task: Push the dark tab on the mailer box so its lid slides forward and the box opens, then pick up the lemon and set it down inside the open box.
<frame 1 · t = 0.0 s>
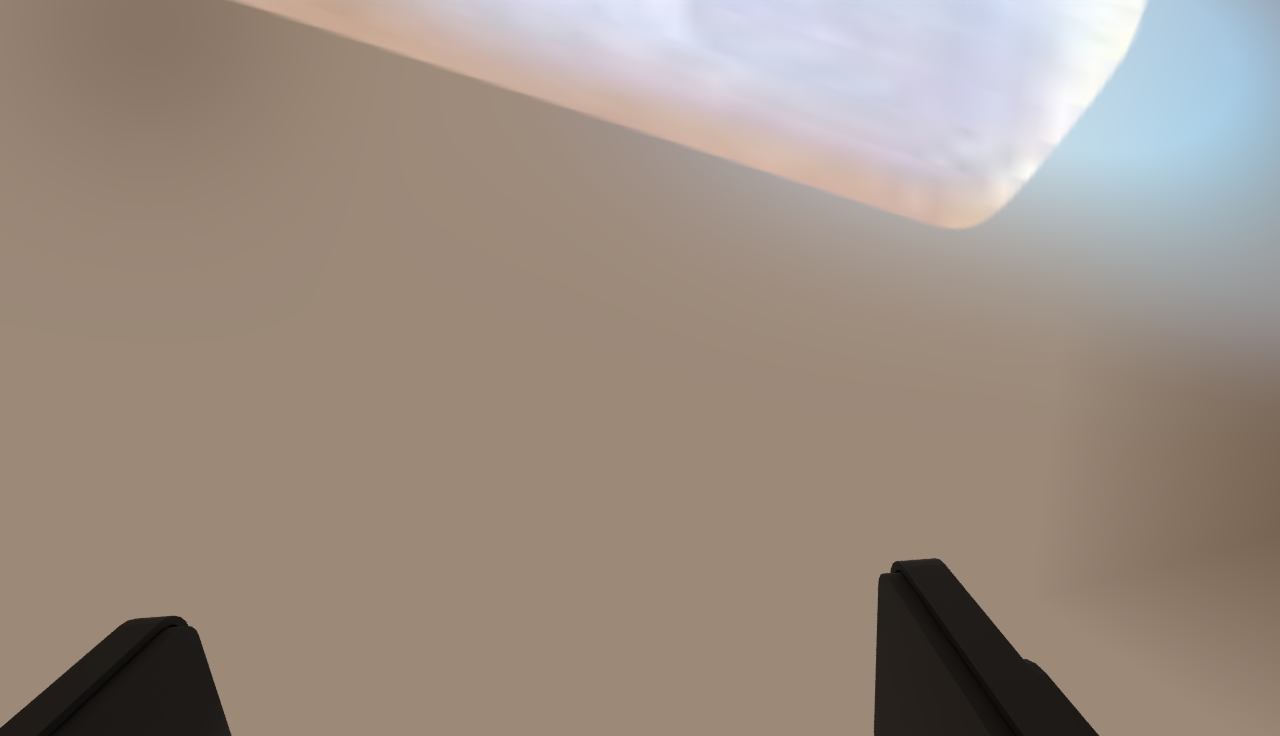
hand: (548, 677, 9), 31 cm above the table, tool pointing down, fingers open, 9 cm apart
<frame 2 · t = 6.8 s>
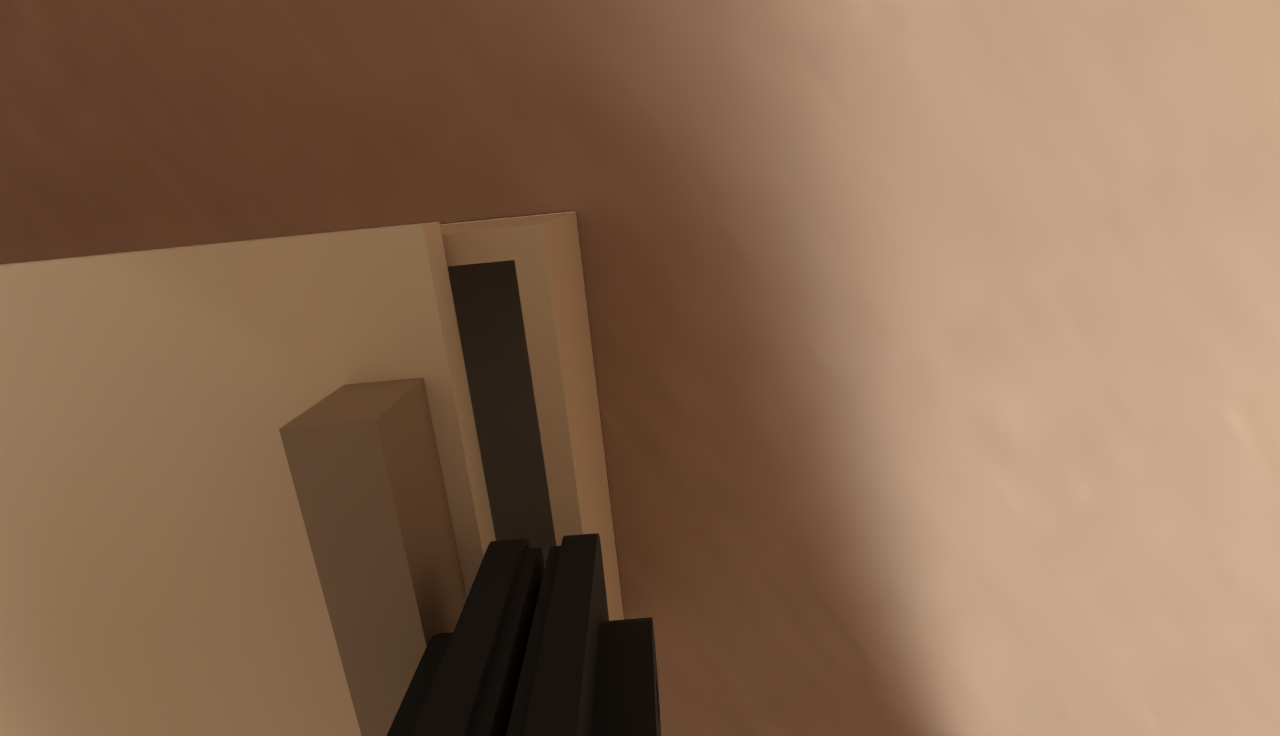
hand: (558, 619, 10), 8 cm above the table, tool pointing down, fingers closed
mailer box: (313, 463, 17), on the table
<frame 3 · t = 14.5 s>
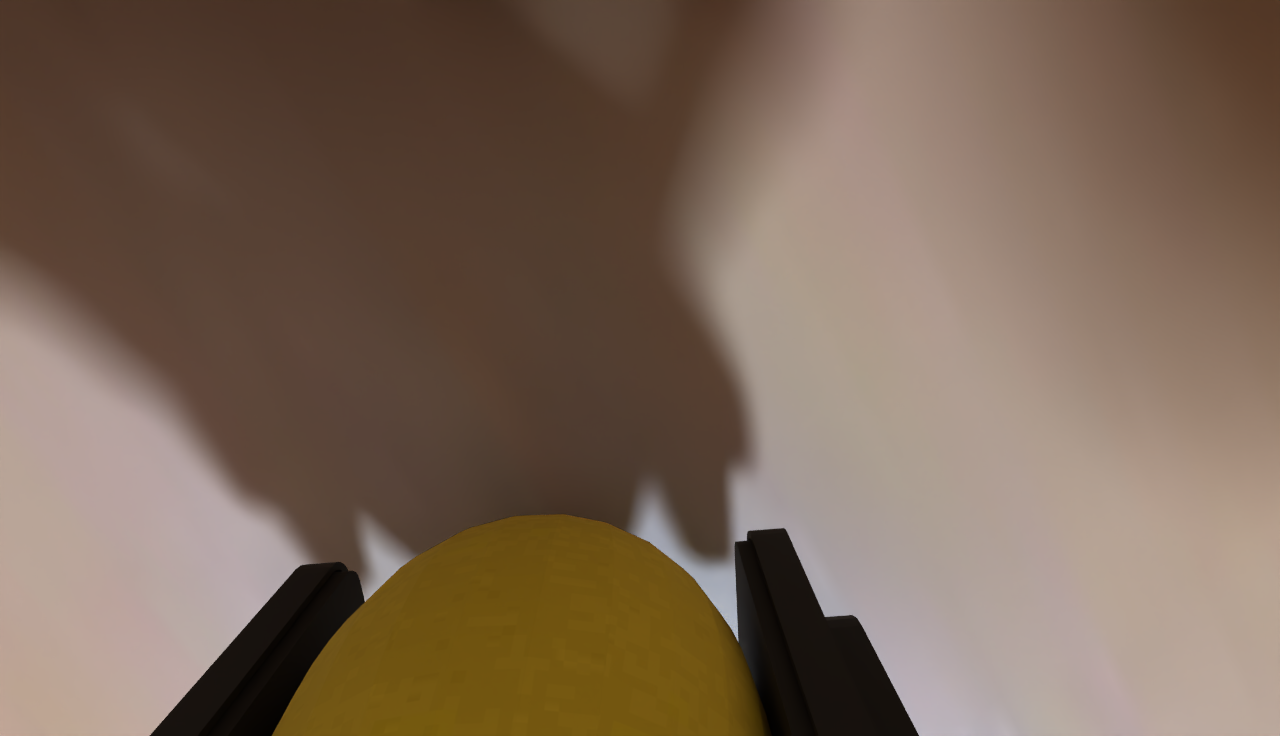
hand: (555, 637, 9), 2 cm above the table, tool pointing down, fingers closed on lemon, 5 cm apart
lemon: (568, 569, 11), on the table, touching gripper
when the fingers open (5 cm above the table, at t = 20.6 s): lemon drops 2 cm, point 1 cm above the table.
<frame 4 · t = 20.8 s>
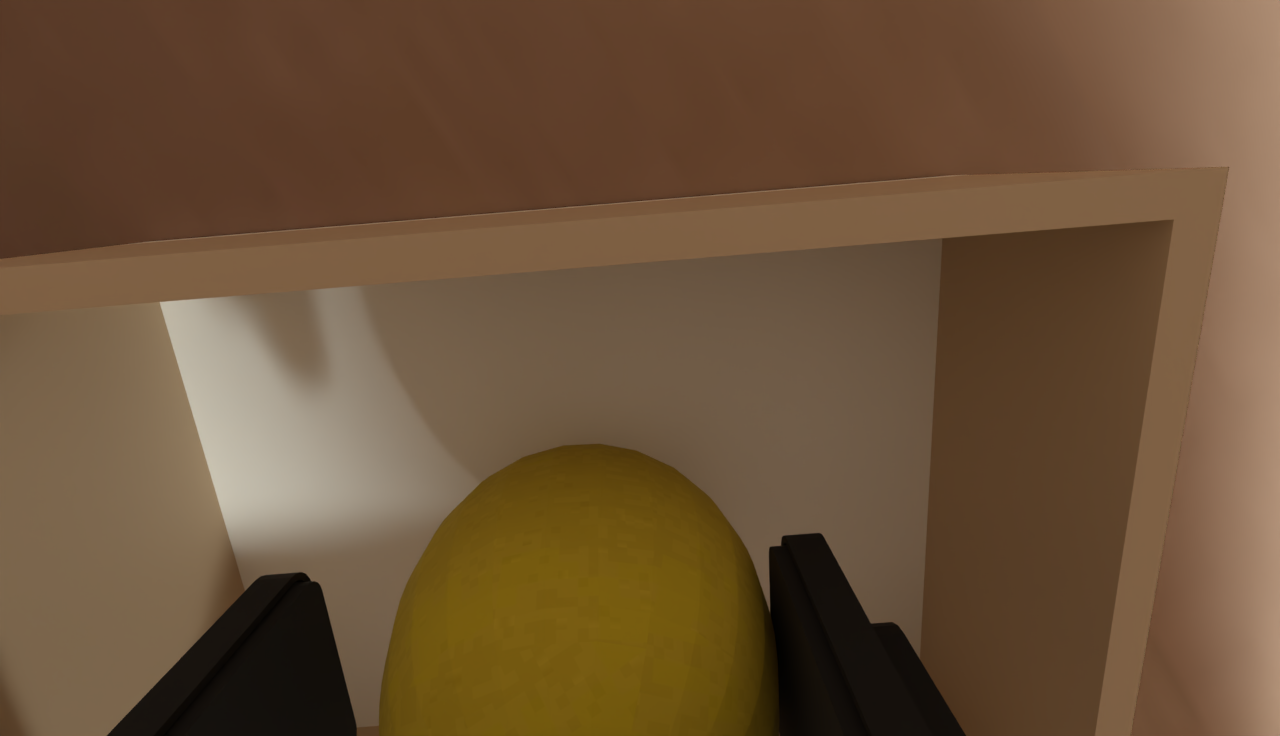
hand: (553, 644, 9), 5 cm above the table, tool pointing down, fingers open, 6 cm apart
mailer box: (578, 483, 14), on the table
lemon: (591, 502, 14), point 1 cm above the table, touching gripper
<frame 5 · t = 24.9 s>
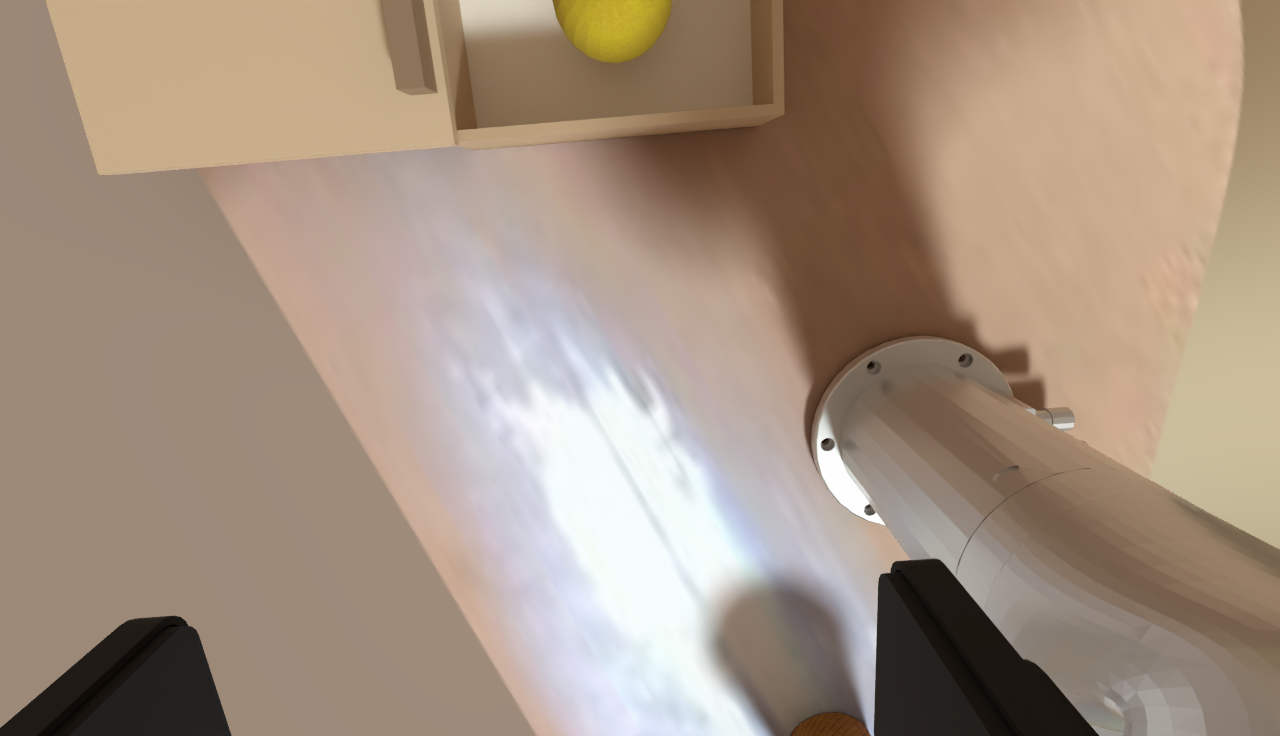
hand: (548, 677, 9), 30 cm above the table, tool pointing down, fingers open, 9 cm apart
mailer lid: (234, 4, 27), point 8 cm above the table, slide at 15.4 cm
mailer box: (606, 18, 34), on the table
lemon: (614, 18, 33), point 1 cm above the table, touching mailer box
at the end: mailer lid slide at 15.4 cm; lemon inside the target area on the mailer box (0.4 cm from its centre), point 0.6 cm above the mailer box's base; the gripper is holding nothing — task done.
